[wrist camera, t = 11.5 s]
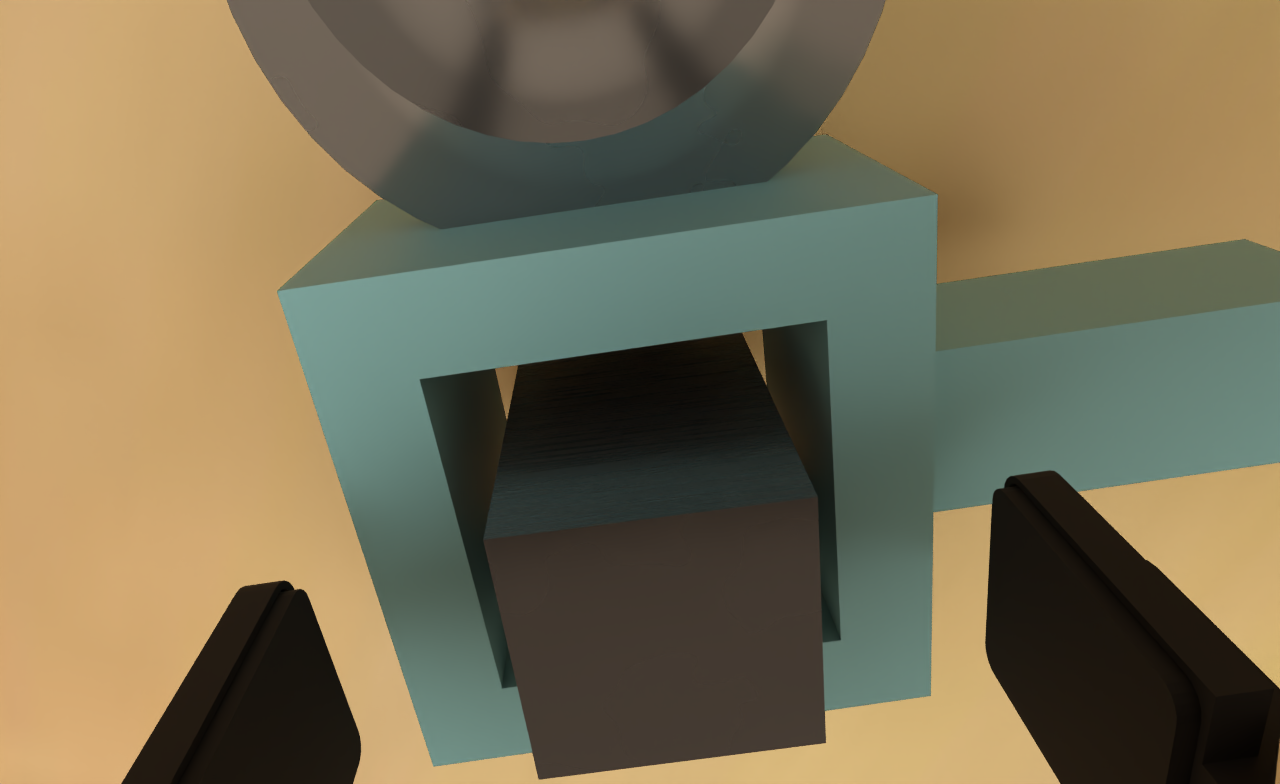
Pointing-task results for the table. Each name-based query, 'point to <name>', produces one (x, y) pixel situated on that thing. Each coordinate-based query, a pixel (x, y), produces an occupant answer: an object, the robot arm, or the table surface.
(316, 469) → the table surface
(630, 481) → the steel wedge pin
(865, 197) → the teal square frame handle
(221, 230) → the table surface
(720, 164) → the grey tall round-topped piece
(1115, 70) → the table surface
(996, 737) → the table surface
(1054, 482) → the robot arm
